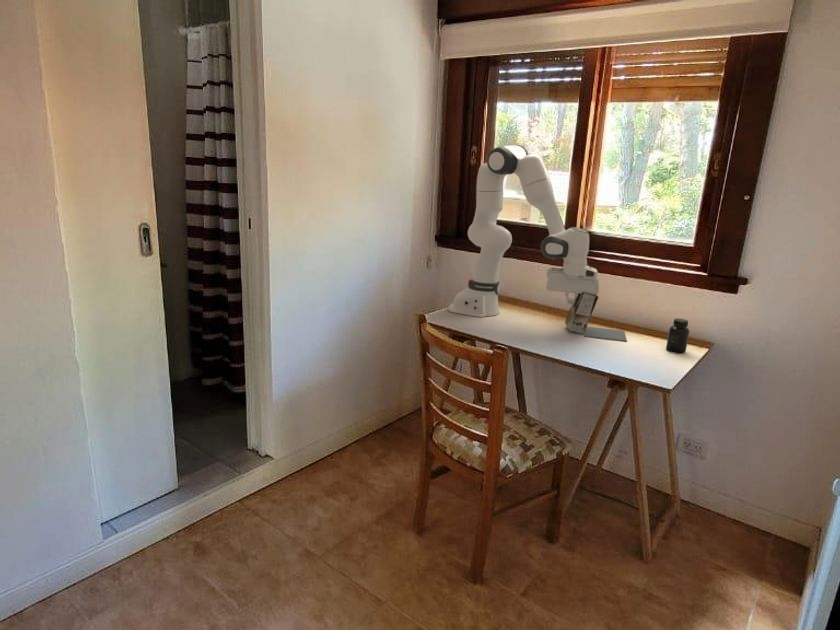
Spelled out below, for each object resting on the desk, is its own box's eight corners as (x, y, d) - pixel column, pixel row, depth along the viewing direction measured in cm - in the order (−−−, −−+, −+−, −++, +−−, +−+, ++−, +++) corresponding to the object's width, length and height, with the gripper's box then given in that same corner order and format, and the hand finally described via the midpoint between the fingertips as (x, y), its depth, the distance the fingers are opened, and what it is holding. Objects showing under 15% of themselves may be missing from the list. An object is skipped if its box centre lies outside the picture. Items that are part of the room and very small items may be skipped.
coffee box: (584, 334, 219) (599, 297, 214) (569, 330, 218) (583, 292, 214) (578, 327, 228) (593, 291, 223) (564, 323, 227) (578, 286, 223)
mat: (583, 336, 216) (584, 335, 216) (583, 327, 228) (583, 325, 228) (626, 341, 212) (626, 340, 212) (624, 331, 224) (624, 330, 224)
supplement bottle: (689, 353, 202) (695, 322, 199) (672, 354, 201) (678, 323, 198) (678, 347, 209) (683, 317, 205) (661, 347, 208) (667, 317, 204)
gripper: (547, 268, 216) (543, 302, 220) (601, 273, 211) (596, 307, 215) (547, 265, 222) (544, 298, 226) (600, 270, 217) (596, 303, 221)
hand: (570, 303), depth 220 cm, fingers closed
